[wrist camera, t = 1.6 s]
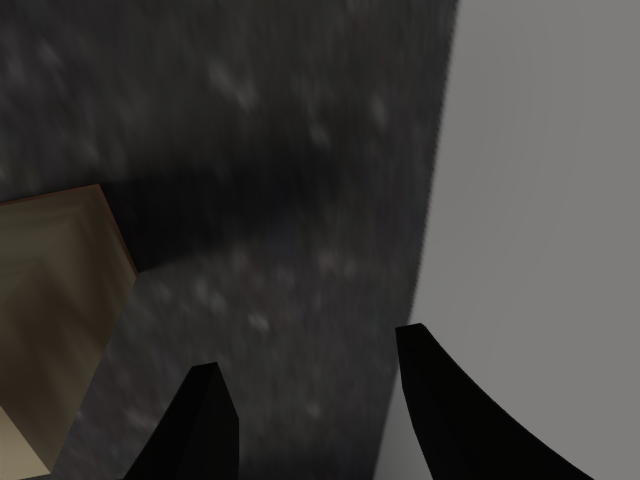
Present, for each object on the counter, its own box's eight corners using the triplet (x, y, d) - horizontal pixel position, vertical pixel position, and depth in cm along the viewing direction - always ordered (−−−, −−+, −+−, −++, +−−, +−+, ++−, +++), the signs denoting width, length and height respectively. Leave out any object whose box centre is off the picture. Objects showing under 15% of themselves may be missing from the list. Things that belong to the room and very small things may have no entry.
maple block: (138, 273, 22) (50, 473, 13) (42, 291, 22) (-109, 503, 13) (99, 183, 20) (-38, 354, 11) (-9, 204, 20) (-229, 390, 11)
